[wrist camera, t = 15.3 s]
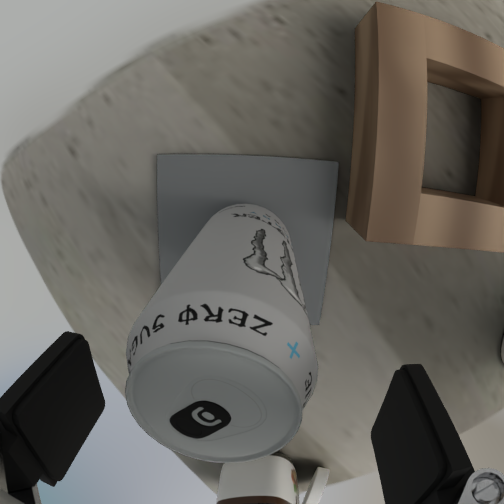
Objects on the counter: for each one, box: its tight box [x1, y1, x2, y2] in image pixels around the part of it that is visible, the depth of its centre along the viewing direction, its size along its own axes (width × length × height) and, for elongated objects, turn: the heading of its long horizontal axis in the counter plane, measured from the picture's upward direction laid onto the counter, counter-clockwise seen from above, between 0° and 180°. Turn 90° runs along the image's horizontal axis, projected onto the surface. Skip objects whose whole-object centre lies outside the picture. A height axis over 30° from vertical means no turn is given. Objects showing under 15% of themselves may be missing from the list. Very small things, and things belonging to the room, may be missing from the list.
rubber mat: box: [157, 154, 339, 325], centre depth 22 cm, size 12×12×1 cm
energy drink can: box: [125, 204, 318, 463], centre depth 15 cm, size 6×6×15 cm
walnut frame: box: [346, 2, 504, 252], centre depth 17 cm, size 14×14×5 cm
